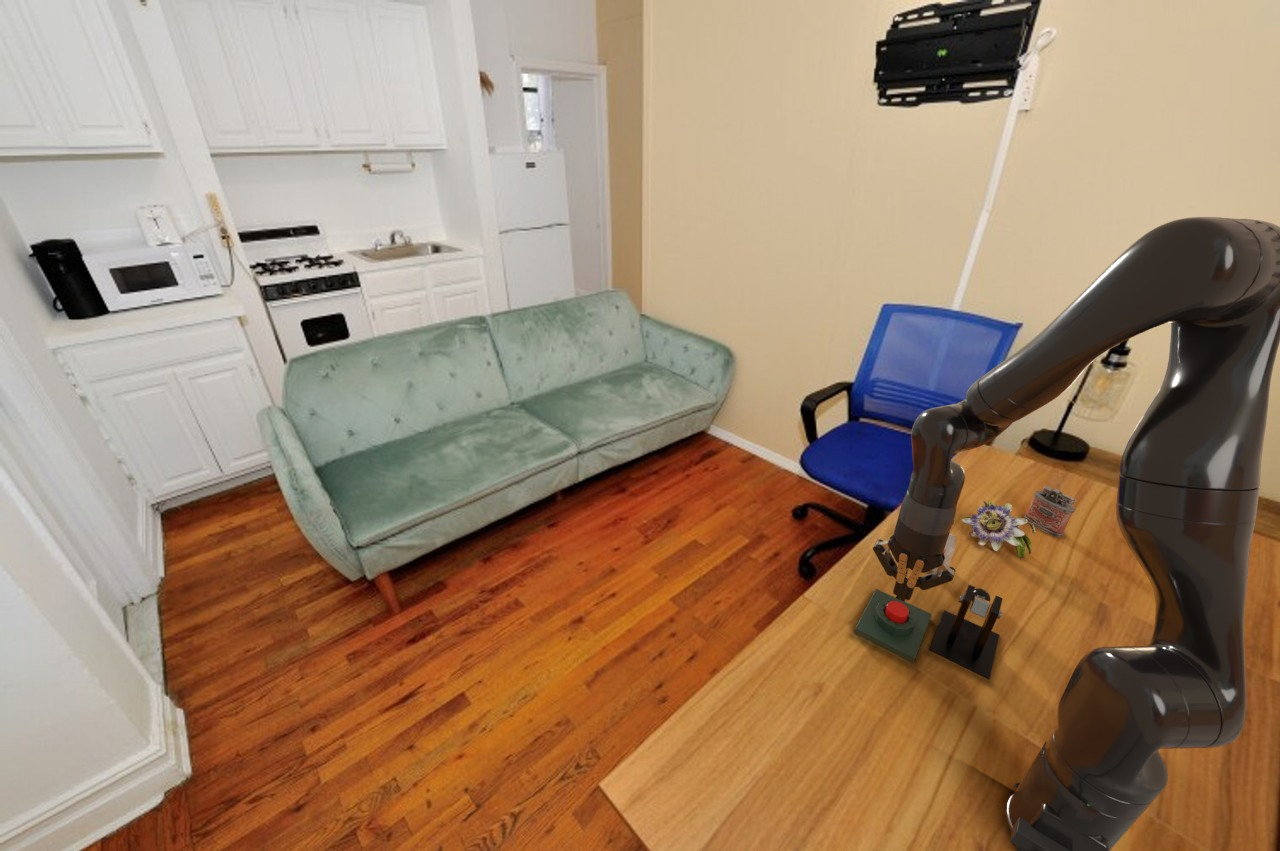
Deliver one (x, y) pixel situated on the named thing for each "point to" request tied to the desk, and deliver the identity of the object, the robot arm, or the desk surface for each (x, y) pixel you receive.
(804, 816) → the desk surface
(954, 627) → the bracket
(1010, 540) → the passion flower
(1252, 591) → the desk surface
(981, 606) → the switch
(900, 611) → the button
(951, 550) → the tea bag
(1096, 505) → the desk surface
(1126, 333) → the robot arm
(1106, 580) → the desk surface
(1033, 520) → the lighter
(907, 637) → the button block
